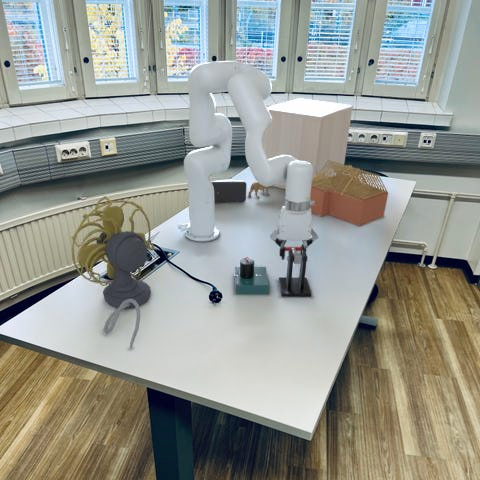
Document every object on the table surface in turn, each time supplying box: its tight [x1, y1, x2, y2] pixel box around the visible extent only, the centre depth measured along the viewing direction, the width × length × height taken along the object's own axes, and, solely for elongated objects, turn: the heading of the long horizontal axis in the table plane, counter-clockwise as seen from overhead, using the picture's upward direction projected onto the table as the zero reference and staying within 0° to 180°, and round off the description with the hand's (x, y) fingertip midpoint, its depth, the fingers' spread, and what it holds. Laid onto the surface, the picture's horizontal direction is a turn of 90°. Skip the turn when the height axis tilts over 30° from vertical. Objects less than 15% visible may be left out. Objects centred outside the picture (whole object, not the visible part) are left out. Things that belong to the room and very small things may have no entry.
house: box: [310, 160, 389, 227], centre depth 194 cm, size 28×23×19 cm
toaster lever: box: [285, 246, 302, 265], centre depth 144 cm, size 12×6×2 cm, turn 2°
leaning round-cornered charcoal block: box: [211, 179, 247, 204], centre depth 205 cm, size 16×5×9 cm, turn 96°
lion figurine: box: [247, 181, 271, 199], centre depth 212 cm, size 15×5×9 cm, turn 137°
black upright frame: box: [278, 250, 312, 298], centre depth 142 cm, size 10×9×12 cm
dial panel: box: [233, 266, 270, 295], centre depth 146 cm, size 11×12×3 cm
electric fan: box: [71, 195, 155, 349], centre depth 125 cm, size 26×32×30 cm
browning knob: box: [239, 256, 255, 279], centre depth 144 cm, size 4×4×5 cm
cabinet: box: [262, 98, 354, 190], centre depth 225 cm, size 35×29×34 cm
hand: (292, 257), depth 150 cm, fingers closed on toaster lever, 5 cm apart
